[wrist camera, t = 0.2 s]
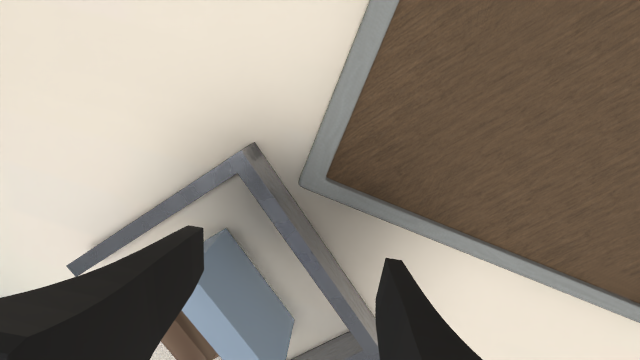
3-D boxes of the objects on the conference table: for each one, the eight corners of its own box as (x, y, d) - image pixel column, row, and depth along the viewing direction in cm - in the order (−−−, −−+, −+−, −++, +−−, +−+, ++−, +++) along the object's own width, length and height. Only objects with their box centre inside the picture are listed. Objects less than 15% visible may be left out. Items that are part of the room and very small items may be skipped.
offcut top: (195, 361, 27) (188, 374, 26) (141, 296, 26) (131, 306, 24) (216, 351, 26) (210, 363, 25) (162, 284, 25) (153, 293, 24)
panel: (273, 329, 26) (253, 397, 21) (205, 240, 25) (162, 287, 19) (294, 318, 26) (280, 385, 20) (226, 227, 24) (189, 271, 18)
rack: (224, 403, 29) (211, 438, 26) (92, 249, 25) (60, 269, 23) (382, 328, 26) (387, 359, 23) (254, 142, 22) (241, 150, 19)
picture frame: (430, -155, 17) (948, 78, 18) (423, -134, 18) (899, 78, 19) (296, 186, 22) (700, 348, 23) (299, 179, 23) (678, 331, 24)
